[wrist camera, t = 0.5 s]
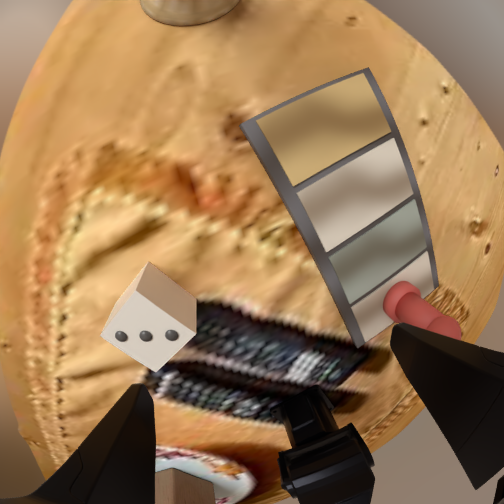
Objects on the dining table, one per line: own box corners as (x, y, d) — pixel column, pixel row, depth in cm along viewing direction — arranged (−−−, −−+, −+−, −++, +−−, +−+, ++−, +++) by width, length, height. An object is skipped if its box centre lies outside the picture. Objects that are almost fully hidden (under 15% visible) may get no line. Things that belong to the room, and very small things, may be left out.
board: (433, 282, 27) (439, 286, 26) (353, 342, 27) (358, 349, 26) (362, 69, 18) (369, 66, 17) (238, 125, 18) (241, 123, 17)
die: (196, 298, 22) (196, 334, 18) (161, 334, 23) (155, 373, 18) (148, 260, 21) (135, 290, 16) (116, 301, 21) (99, 336, 17)
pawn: (414, 300, 26) (469, 346, 17) (387, 322, 26) (438, 375, 17) (409, 273, 24) (471, 317, 16) (378, 295, 24) (437, 349, 16)
